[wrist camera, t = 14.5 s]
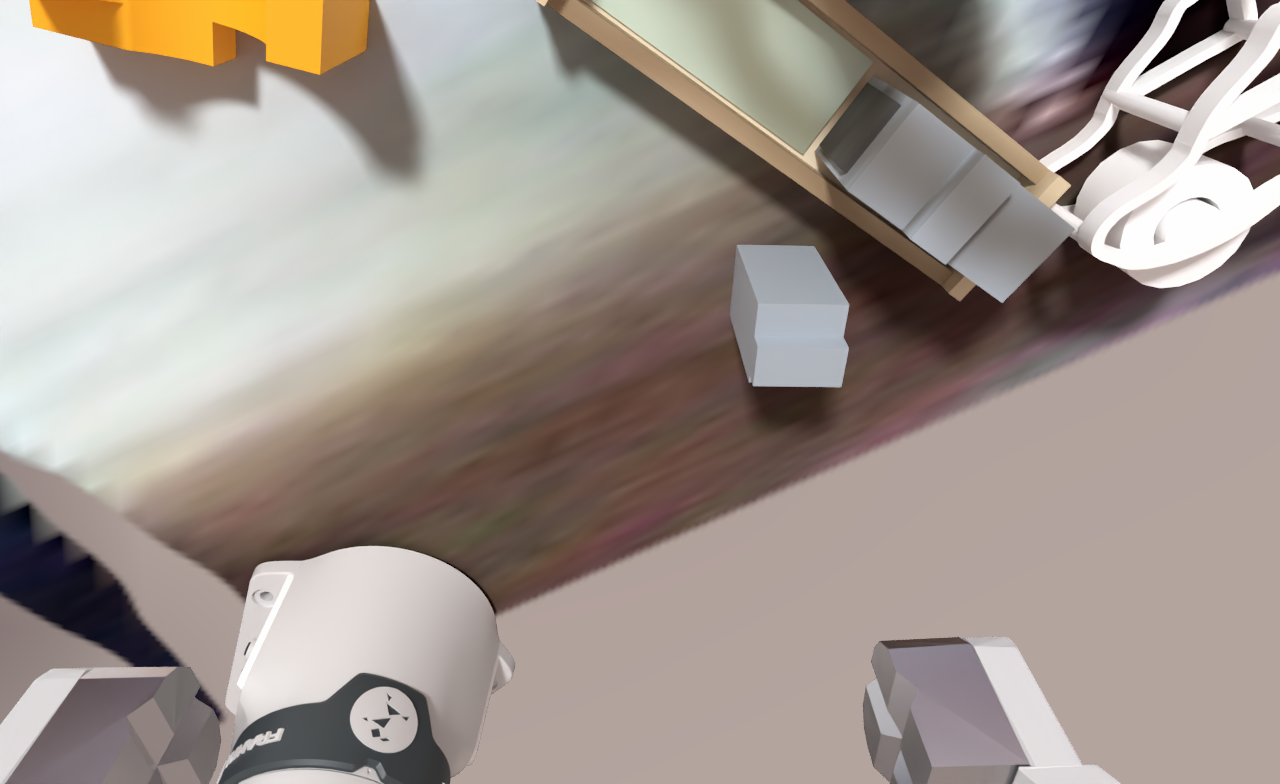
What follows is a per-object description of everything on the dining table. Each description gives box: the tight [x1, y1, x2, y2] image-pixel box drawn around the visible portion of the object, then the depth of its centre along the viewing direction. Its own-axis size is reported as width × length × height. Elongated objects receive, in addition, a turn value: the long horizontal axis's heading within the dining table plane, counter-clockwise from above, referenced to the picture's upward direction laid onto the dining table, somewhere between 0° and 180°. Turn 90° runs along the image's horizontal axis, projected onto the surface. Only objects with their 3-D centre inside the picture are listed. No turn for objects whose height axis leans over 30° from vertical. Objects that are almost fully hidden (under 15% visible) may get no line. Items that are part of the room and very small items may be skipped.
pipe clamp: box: [29, 0, 370, 75], centre depth 30 cm, size 12×4×6 cm, turn 75°
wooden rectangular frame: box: [536, 0, 1075, 303], centre depth 32 cm, size 7×24×8 cm, turn 56°
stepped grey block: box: [730, 245, 849, 387], centre depth 37 cm, size 4×4×8 cm
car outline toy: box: [1039, 0, 1280, 288], centre depth 33 cm, size 20×11×7 cm, turn 123°
